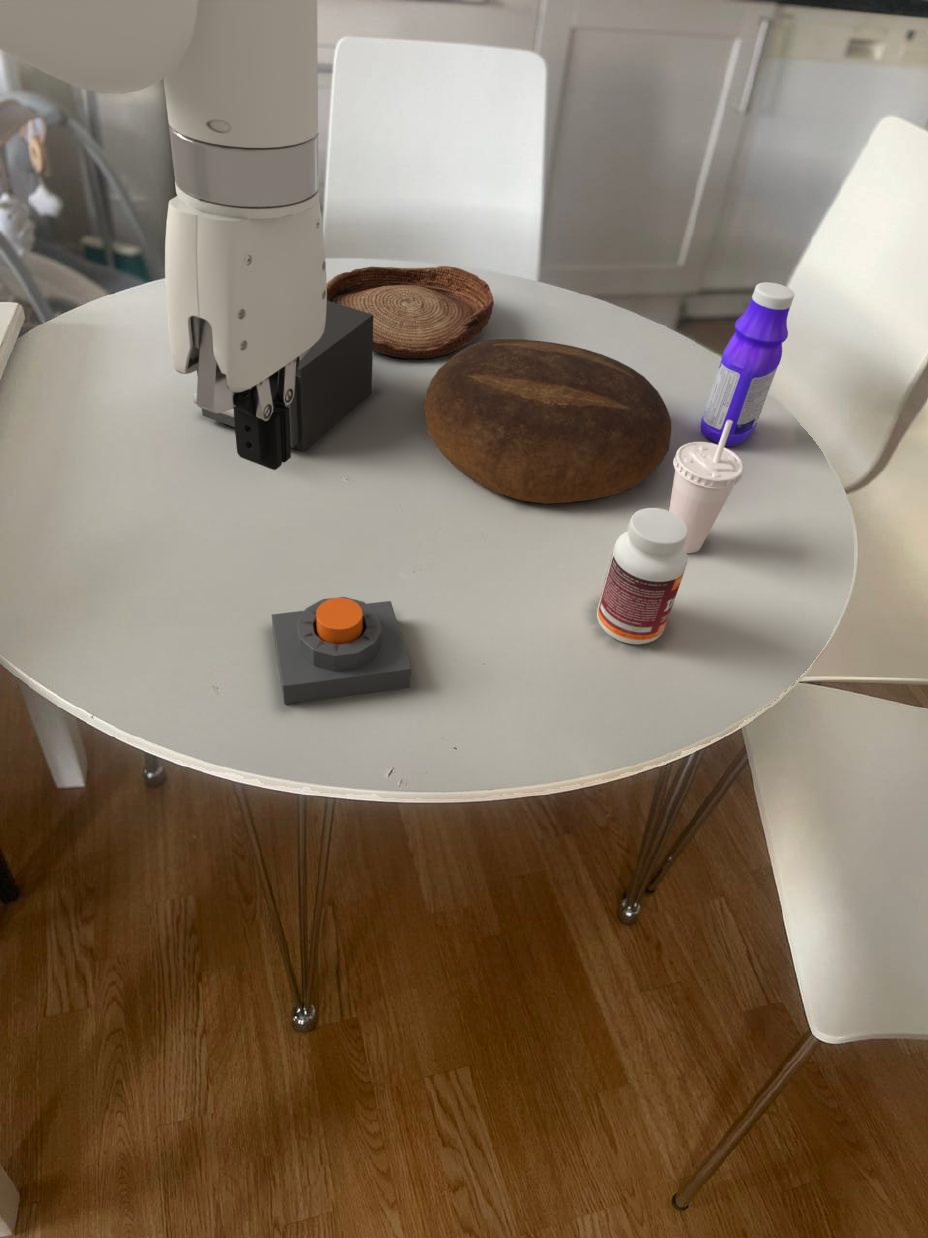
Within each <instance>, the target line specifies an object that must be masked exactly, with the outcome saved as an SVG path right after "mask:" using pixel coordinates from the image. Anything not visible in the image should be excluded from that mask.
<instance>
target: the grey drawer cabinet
mask: <svg viewBox="0 0 928 1238" xmlns="http://www.w3.org/2000/svg"><path fill="white" fill-rule="evenodd" d="M373 354H374V350H373V314H370V313H366V312H363V311H360V310H357V309H353V308H350V307H347V306H344V305H340V304H337V303H334V302H330V301H327V306H326V322H325V329H324V332H323V334H322V336H321V338H320V339H319V340H318V341H317V342H316V343H315V344H314V345H313V347H312V348H311V349H310V351H309V352H308V353H307V354H306V355H305V356H304V357H303V358H302V360H301V361H300V362H299V366H298V368H297V370H296V375H295V376H296V391H297V413H298V435H299V443H298V444H297V445H296V446H294V447H293V448H292V449H297V450H299V451H302V452H305V451H306V450H308V449H309V448H310V447H311V446H313V445H314V444H315V443H316V442H317V441H318V440H320V438H322V437H323V435H325V434H326V433H327V432H328V431H330V430H331V429H332V428H333V427H334V426H335V425H336V424H338V423H339V422H340V421H341V420H342V419H343V418H345V417H346V416H347V415H348V414H349V413H350V412H352V410H354V409H355V408H356V407H357V406H358V405H359V404H361V403H362V402H363V401H365V399H367V397H368V396H370V395H371V394H372V393H373V359H374V355H373Z"/></svg>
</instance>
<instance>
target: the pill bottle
mask: <svg viewBox="0 0 928 1238" xmlns="http://www.w3.org/2000/svg"><path fill="white" fill-rule="evenodd" d="M687 533H688V528H687V525H686V524H685V522H684V521H683V520H682V519H681V518H680V517H679V516H677V515H676V514H674V513H672V512H670V511H669V510H667V509H663V508H658V507H647V508H641V509H639V510H637V511H636V512H634V513H633V514H632V516H631V517H630V521H629V523H628V526H627V531H624V532H622V534H621V535H619V537H618V538H617V540H616V541H615V543H614V546H613V549H612V553H611V557H610V560H609V564H608V568H607V572H606V575H605V579H604V583H603V586H602V589H601V594H600V597H599V601H598V604H597V610H596V618H597V621H598V624H599V626H600V627H601V629H602V630H603V631H604V632H605V633H606V634H607V635H608V636H610V637H611V638H613V639H614V640H617V641H619V642H622V643H625V644H630V645H644V644H649V643H652V642H654V641H656V640H657V639H658V638H660V637H661V636H662V634H663V633H664V631H665V628H666V626H667V624H668V621H669V618H670V614H671V613H672V612H671V611H672V608H673V606H674V603H675V600H676V597H677V595H678V592H679V589H680V586H681V583H682V580H683V578H684V574H685V571H686V570H687V569H686V568H687V566H688V553H686V550H685V548H684V547H683V546H684V545H685V541H686V537H687Z"/></svg>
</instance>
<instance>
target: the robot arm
mask: <svg viewBox="0 0 928 1238" xmlns="http://www.w3.org/2000/svg"><path fill="white" fill-rule="evenodd" d="M0 50H1V51H4V52H5V53H7V54H9V55H10V56H13V57H14V58H16V59H18V60H20V61H22V62H23V63H26V64H28V65H30V66H32V67H34V68H35V69H37V70H39V71H41V72H43V73H45V74H47V75H49V76H52V77H53V78H55V79H57V80H60V81H62V82H64V83H66V84H68V85H70V86H74V87H76V88H79V89H82V90H85V91H91V92H96V93H100V94H113V95H114V94H117V95H118V94H119V95H122V94H129V93H134V92H139V91H142V90H144V89H147V88H149V87H152V86H154V85H156V84H158V83H159V82H160V81H162V80H163V87H164V96H165V103H166V113H167V122H168V130H169V139H170V148H171V156H172V157H171V158H172V167H173V175H174V185H175V193H176V196H174V197H172V198H171V199H169V201H168V206H167V213H166V214H167V215H166V225H165V240H164V241H165V244H164V277H165V278H164V279H165V281H164V283H165V301H166V303H165V304H166V318H167V330H168V339H169V340H168V341H169V348H170V355H171V362H172V365H173V368H174V370H175V371H176V372H177V373H179V374H182V375H188V374H192V373H194V372H197V370H198V376H197V383H196V384H197V385H196V387H197V388H196V391H197V400H196V401H197V404H196V405H197V407H198V408H200V409H201V410H202V409H205V410H208V411H210V412H213V413H216V414H218V413H221V412H224V411H227V410H230V409H233V410H234V422H235V427H234V432H235V433H234V434H235V443H236V453H237V455H238V457H240V458H241V459H244V460H247V461H249V462H252V463H254V464H256V465H260V466H262V467H265V468H267V469H270V470H273V471H276V470H278V469H279V468H280V467H281V466H282V465H283V463H286V462H287V461H288V460H289V459H291V457H292V447H291V442H290V414H289V408H288V407H285V404H286V405H289V404H290V403H291V402H292V400H293V398H294V392H295V375H296V370H297V368H298V366H299V362H300V361H301V360H302V358H303V357H304V356H305V355H306V354H307V353H308V352H309V351H310V349H311V348H312V347H313V345H314V344H315V343H316V342H317V341H318V340H319V339H320V338H321V336H322V334H323V332H324V329H325V322H326V306H327V285H326V284H327V263H326V247H325V235H324V226H323V219H322V218H323V217H322V210H321V203H320V164H319V162H320V158H319V157H320V154H319V150H320V149H319V143H320V142H319V141H320V139H319V83H318V82H319V80H318V79H319V78H318V77H319V76H318V75H319V72H318V70H319V69H318V67H319V65H318V0H0Z"/></svg>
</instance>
